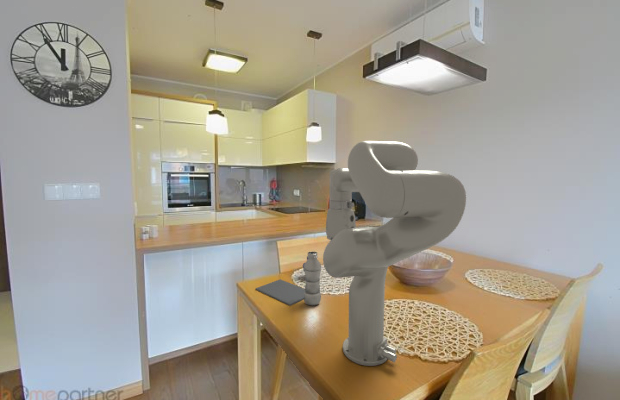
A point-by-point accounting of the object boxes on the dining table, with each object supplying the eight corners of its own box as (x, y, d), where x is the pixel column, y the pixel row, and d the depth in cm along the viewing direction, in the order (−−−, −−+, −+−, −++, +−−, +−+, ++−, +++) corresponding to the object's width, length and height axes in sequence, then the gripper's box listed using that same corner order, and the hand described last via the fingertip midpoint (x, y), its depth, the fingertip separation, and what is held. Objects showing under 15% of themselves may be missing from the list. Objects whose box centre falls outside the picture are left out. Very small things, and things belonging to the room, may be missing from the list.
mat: (314, 294, 112) (314, 292, 112) (290, 305, 101) (290, 304, 101) (280, 280, 127) (280, 279, 126) (255, 289, 116) (255, 288, 116)
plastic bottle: (301, 301, 105) (301, 251, 103) (317, 298, 107) (317, 249, 106) (307, 309, 99) (306, 256, 97) (323, 305, 101) (324, 254, 100)
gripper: (365, 206, 89) (364, 260, 91) (330, 203, 99) (329, 251, 101) (352, 208, 84) (351, 265, 85) (316, 204, 94) (316, 256, 95)
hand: (339, 257), depth 93 cm, fingers closed
